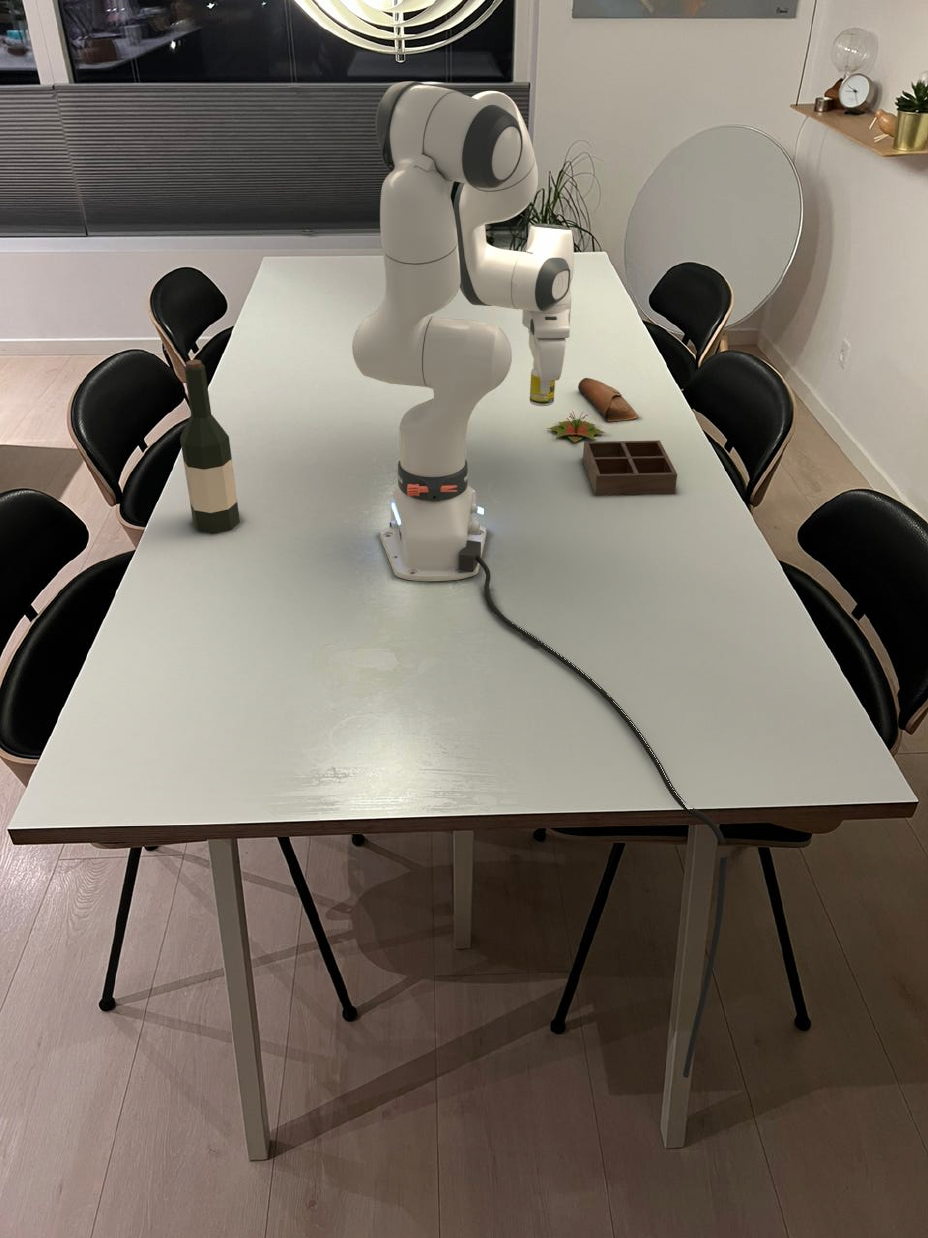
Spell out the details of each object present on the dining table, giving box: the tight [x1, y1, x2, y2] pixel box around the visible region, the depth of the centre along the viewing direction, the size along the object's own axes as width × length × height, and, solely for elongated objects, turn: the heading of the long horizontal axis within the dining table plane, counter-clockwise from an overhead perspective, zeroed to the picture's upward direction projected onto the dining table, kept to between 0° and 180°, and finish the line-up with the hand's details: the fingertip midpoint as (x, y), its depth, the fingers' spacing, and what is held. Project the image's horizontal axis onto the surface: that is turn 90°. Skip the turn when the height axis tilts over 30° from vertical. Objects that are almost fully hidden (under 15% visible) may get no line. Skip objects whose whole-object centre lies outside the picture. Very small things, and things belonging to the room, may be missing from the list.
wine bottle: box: [179, 359, 241, 535], centre depth 181 cm, size 8×8×30 cm
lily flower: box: [546, 411, 607, 444], centre depth 221 cm, size 12×12×5 cm
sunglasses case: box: [577, 377, 639, 423], centre depth 235 cm, size 18×7×7 cm, turn 15°
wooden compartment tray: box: [582, 439, 678, 496], centre depth 205 cm, size 15×15×4 cm
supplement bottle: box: [529, 360, 556, 407], centre depth 200 cm, size 5×5×8 cm
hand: (542, 386), depth 200 cm, fingers closed on supplement bottle, 5 cm apart
